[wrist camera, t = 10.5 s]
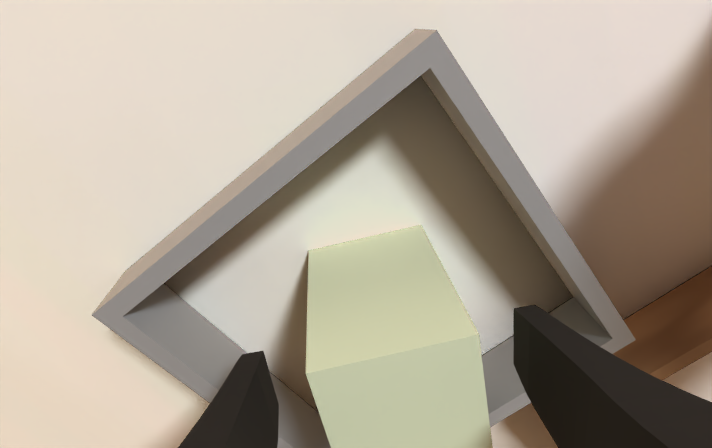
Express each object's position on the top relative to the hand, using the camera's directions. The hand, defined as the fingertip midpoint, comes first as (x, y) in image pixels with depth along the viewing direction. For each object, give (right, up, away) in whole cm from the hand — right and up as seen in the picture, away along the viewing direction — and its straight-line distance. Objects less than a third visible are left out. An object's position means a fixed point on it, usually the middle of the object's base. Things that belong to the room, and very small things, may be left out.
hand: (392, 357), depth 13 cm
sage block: (0, +2, +4) cm, 4 cm away
